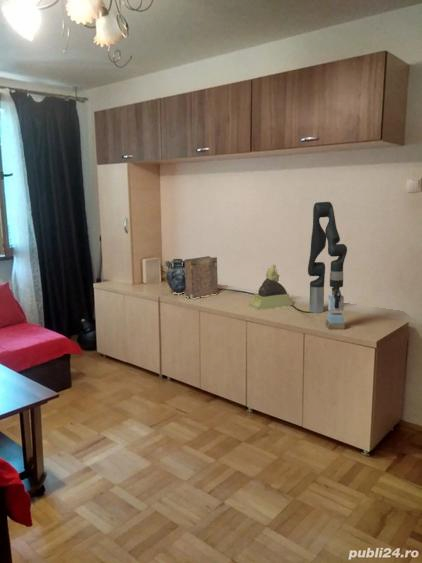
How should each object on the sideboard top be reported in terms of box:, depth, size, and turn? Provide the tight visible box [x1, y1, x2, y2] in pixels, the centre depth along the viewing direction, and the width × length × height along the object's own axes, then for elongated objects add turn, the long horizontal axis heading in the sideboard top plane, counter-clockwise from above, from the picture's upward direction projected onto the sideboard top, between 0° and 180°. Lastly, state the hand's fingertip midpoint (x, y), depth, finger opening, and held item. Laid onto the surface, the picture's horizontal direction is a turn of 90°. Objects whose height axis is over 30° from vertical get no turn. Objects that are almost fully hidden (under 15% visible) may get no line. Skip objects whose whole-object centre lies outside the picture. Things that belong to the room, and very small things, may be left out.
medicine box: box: [327, 294, 345, 312], centre depth 267 cm, size 8×4×9 cm, turn 92°
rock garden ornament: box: [248, 264, 294, 311], centre depth 322 cm, size 28×13×30 cm, turn 113°
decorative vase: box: [165, 258, 187, 293], centre depth 369 cm, size 21×19×28 cm
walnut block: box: [325, 318, 346, 331], centre depth 270 cm, size 9×9×4 cm
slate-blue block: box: [326, 312, 345, 323], centre depth 269 cm, size 8×8×4 cm
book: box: [184, 255, 219, 298], centre depth 357 cm, size 25×9×30 cm, turn 131°
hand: (335, 307), depth 268 cm, fingers closed on medicine box, 4 cm apart
